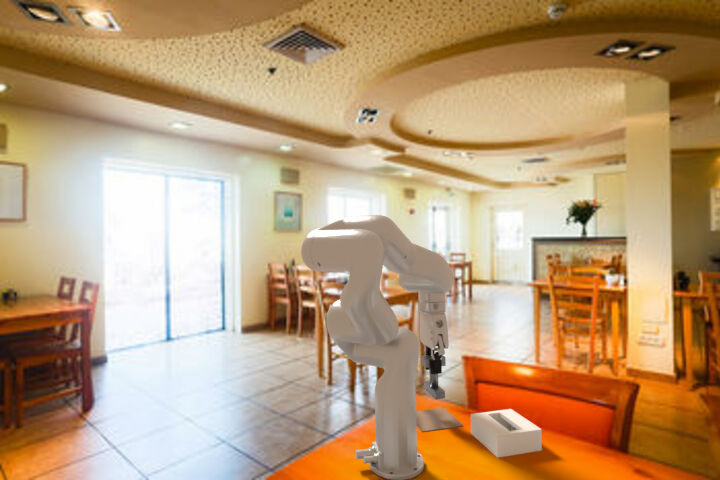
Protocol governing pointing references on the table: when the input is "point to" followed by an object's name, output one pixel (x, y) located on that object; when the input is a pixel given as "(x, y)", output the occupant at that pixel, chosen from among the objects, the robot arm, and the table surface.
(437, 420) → the grey flat square plate
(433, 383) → the t key
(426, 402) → the table surface
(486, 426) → the block
